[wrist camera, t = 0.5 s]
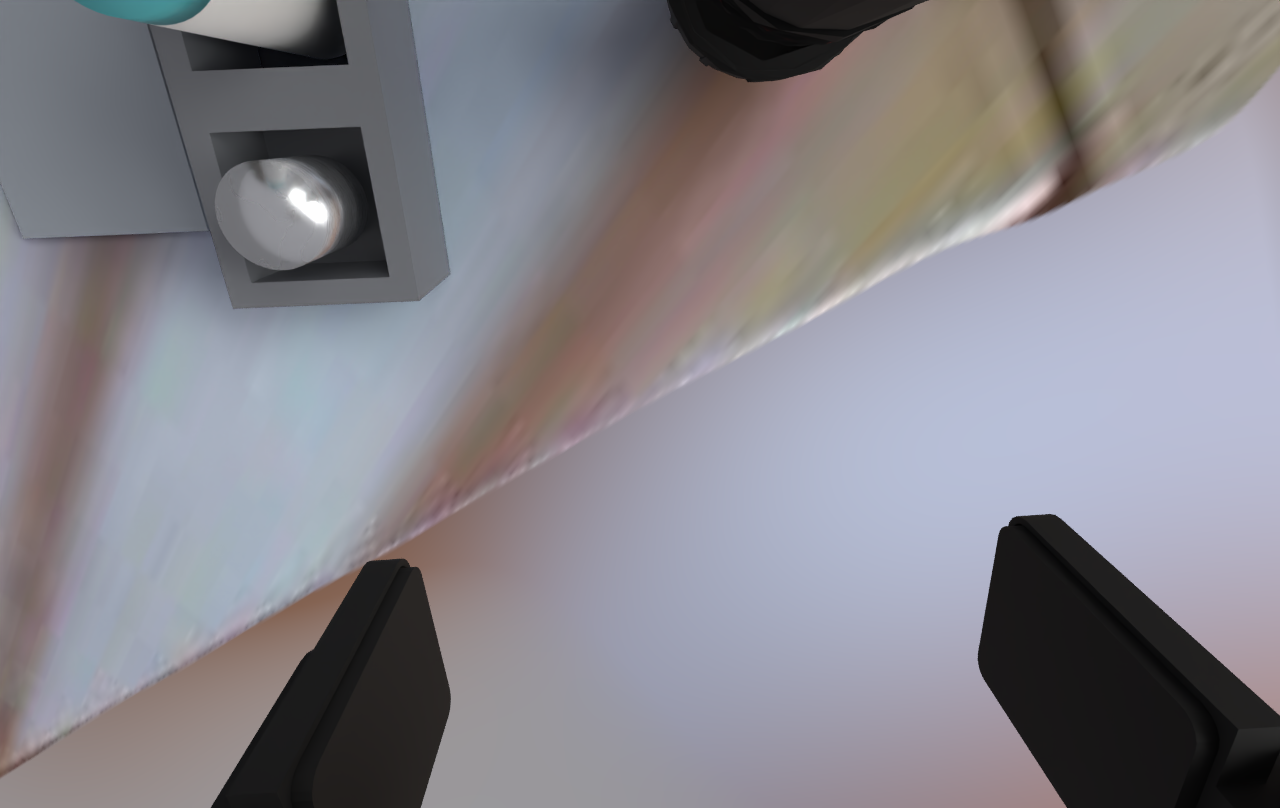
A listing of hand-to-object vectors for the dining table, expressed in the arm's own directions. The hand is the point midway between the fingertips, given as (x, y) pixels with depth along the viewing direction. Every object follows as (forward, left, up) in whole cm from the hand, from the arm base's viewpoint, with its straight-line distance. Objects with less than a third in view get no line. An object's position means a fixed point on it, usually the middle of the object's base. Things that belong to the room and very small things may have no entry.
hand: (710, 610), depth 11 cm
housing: (-9, -16, -29) cm, 34 cm away
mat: (-10, -29, -29) cm, 42 cm away
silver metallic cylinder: (-4, -16, -25) cm, 30 cm away
